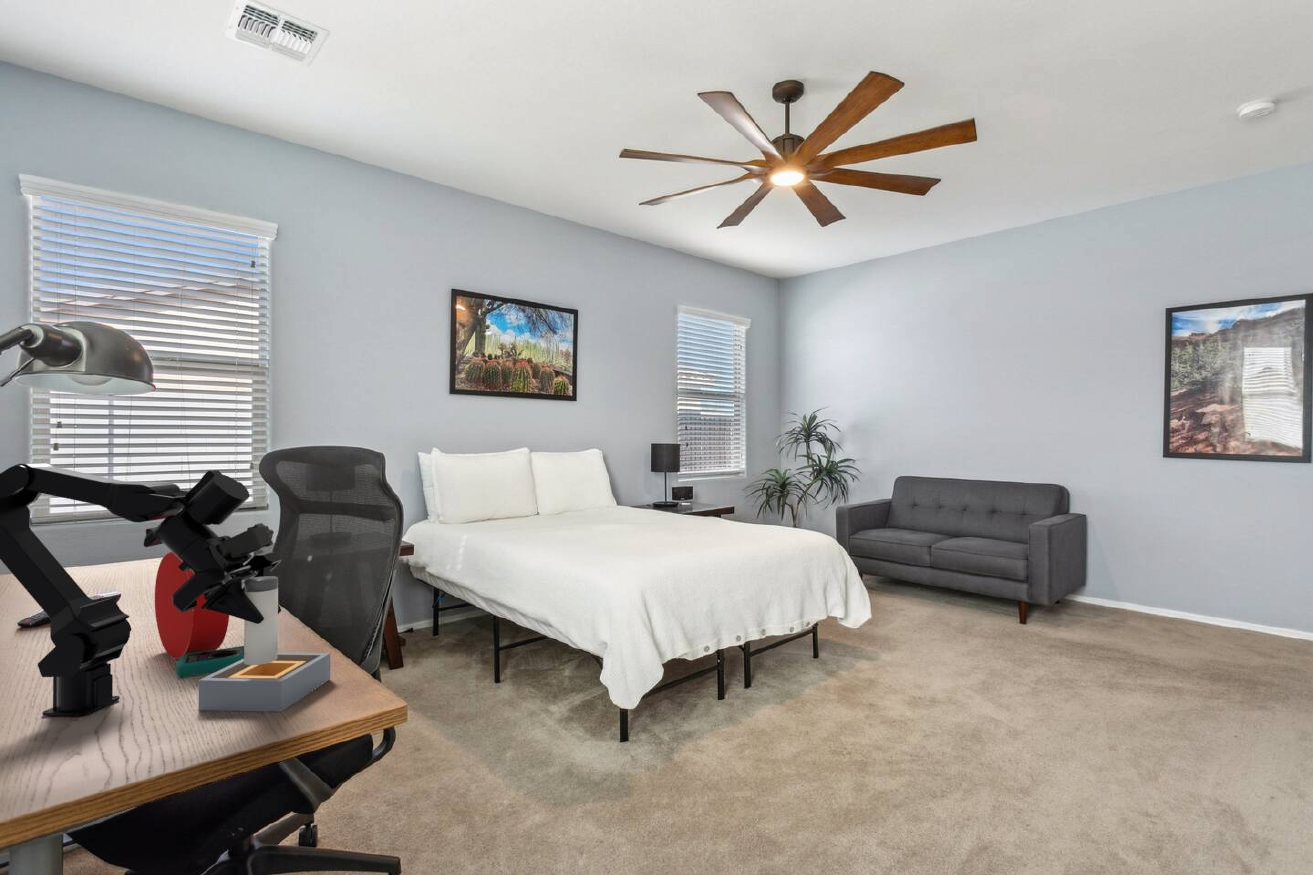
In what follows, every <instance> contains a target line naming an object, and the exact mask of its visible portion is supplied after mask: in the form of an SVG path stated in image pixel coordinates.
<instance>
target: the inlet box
mask: <svg viewBox="0 0 1313 875" xmlns="http://www.w3.org/2000/svg"><path fill="white" fill-rule="evenodd" d="M328 680H329V681H331V653H330V652H328V653H327V652H323V653H322V652H278V658H277V659H276V660H275V661H273V662H270V663H266V664H261V665H246V664H244V659H242V660H240V661H238V662H236V663H233V664H231V665H229V666H227V667H225V668H223V669H221V670H219V671H217V672H212V673H210V674H208V675H207V676H204V677H203V678H201V679H199V680H198V708H197V709H198V711H227V712H228V711H230V712H233V711H234V712H238V711H239V712H280V713H281V712H284V711H285V710H286V709H288V708H289V707H291V706H293V705H294V704H296V703H297V702H298V701H300V700H302V699H303V698H305V697H306V696H307V695H306V694H308V693H309V694H310V692H311V691H312V690H314V689H315V688H317V687H318V686H320V685H321V684H322V683H324V684H325V682H326V681H328ZM329 681H328V682H329ZM326 683H327V682H326ZM321 686H322V685H321ZM321 686H320V687H321ZM318 688H319V687H318ZM318 688H317V689H318ZM315 690H316V689H315ZM315 690H314V691H315ZM312 692H313V691H312ZM312 692H311V693H312ZM309 694H308V695H309ZM305 695H306V696H305ZM304 696H305V697H304ZM302 697H303V698H302ZM301 698H302V699H301ZM292 704H293V705H292Z"/></svg>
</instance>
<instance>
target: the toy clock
mask: <svg viewBox="0 0 1313 875" xmlns="http://www.w3.org/2000/svg"><path fill="white" fill-rule="evenodd" d="M181 563H182V561H181V560H180V559H179V558H178V557H177V556H176V555H175V554H174V553H173V552H172V551H169V552H167V553H165V554H164V555H163V557H162V559H161V560H160V563H159V565H158V568H157V572H156V577H155V585H154V612H155V613H154V614H155V621H156V626H157V632H158V635H159V638H160V641H161V644H162V646H163V648H164V650H165V652H166V654H167V655H168V656H169V657H171V659H175V660H179V659H180V658H182V657H183V656H184V655H185V654H188V653H196V652H203V651H211V650H218V649H219V648H220V647H221V646H222V645H223V643H224V640H225V638H226V636H227V632H228V627H229V621H230V615H227V614H223V613H219V612H215V611H211V610H207V609H205V610H202V609H201V606H202V605H203V604H204V603H205V602H206V600H205V599H204V597H205V596H204V595H203V594H202V595H201V596H200V597H199V598H198V599H196V600H197V606H196V607H195V608H194V609H191V610H189V611H186V612H183V613H181V612H180V611H179V610H178V609H177V608H176V607H175V606H174V605H173V604H172V595H173V594H174V593H175V592H176V591H177V590H178V589H179V588H180V587H181V586H182V585H183V584H184V583H185V582H186V581H187V580H188V579H189V578H190V577H191V576H192V575H193V574H194V573H193V572H192V571H191V570H186V571H182V570H181V569H180V568H178V566H179V565H180V564H181Z"/></svg>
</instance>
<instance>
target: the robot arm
mask: <svg viewBox="0 0 1313 875" xmlns="http://www.w3.org/2000/svg"><path fill="white" fill-rule="evenodd" d="M249 492H250V491H249V490H248V488H247V487H246V485H244V484H243V483H242V482H240V481H238V480H236V479H235V478H232V477H231V476H228V475H226V474H223V473H222V472H221V471H220V470H218V469H214V470H213V469H212V470H211V469H210V470H207V471H206V472H205V473H204V474H203V476H201V479H200V480H199V481H198V482H197V483H196V484H195V485H194V486H193V487H192V488H191V489H189V490H183V489H181V487H180V486H179V485H177V484H176V483H173V482H169V481H143V480H142V481H140V480H139V481H134V480H133V481H131V480H130V481H129V480H118V479H114V478H110V477H106V476H105V477H104V476H100V475H97V474H96V475H95V474H90V473H87V472H86V473H85V472H81V471H76V470H72V469H67V468H63V467H58V466H53V465H52V464H49V463H46V462H37V463H36V462H35V463H33V462H30V463H29V462H27V463H26V462H25V463H17V464H15V465H13V466H10V467H8V468H6V469H5V470H4V471H2V472H0V561H1V562H2V563H3V565H4V566H5V567H6V568H7V569H8V570H9V571H10V573H11V574H12V575H13V577H15V579H16V580H17V581H18V582H19V583H20V584H21V586H22V587H23V588H24V590H26V592H27V593H28V594H29V595H30V596H31V598H33V600H34V601H35V602H36V603H37V604H38V606H39V607H40V608H41V609H42V610H43V612H44V613H45V614H46V615H47V616H48V618H49V619H50V629H49V630H50V631H49V632H50V633H49V634H50V637H49V638H50V640H51V641H52V644H53V646H54V647H53V648H52V649H51V650H50V651H49V652H48V653H47V654H46V655H45V656H44V657H43V658H42V659H40V660H39V662H38V663H37V668H38V671H39V674H40V676H41V677H42V678H52V707H51V708H47V709H46V710H43V711H42V713H41V714H42V716H56V717H57V716H58V717H60V716H61V717H81V716H82V717H83V716H85V715H88V714H90V713H92V712H94V711H97V710H99V709H101V708H103V707H105V706H108V705H110V704H112V703H114V702H117V701H119V700H120V699H121V698H120V696H119V695H113V683H114V682H113V681H114V680H113V678H114V677H113V674H112V673H111V672H112V670H111V669H112V664H111V663H108V662H111V661H113V660H117V659H120V657H121V655H122V652H123V650H124V647H125V646H126V645H127V643H128V642H129V639H130V637H131V632H132V627H131V624H130V622H129V621H128V619H129V618H130V615H128V614H127V613H125V612H123V611H122V609H121V608H120V607H119V605H118V602H117V601H116V600H114V599H113V598H107V599H103V600H100V601H97V600H94V599H92V598H90V597H89V596H88V595H87V594H86V592H84V590H83V588H81V586H79V584H78V583H77V582H76V581H75V580H74V578H72V576H71V575H70V574H69V573H68V571H67V570H66V569H65V568H64V567H63V565H62V564H61V563H60V562H59V561H58V559H56V557H55V556H54V555H53V554H52V552H50V550H48V548H47V547H46V545H45V544H44V543H43V542H42V541H41V539H39V537H38V536H37V535H36V533H34V532H33V530H32V529H31V526H30V525H31V510H30V509H29V507H28V506H30V505H32V504H33V503H34V502H37V501H38V500H39V498H40V497H41V495H42V494H44V495H50V496H53V497H58V498H64V499H69V500H73V501H77V502H82V503H87V504H92V505H97V506H100V507H103V508H105V509H107V510H108V511H109V512H110V513H111V514H112V515H114V516H117V517H119V518H122V519H124V520H127V521H129V522H132V523H139V524H140V523H144V522H146V523H147V522H152V521H157V520H162V522H160V523H159V524H158V525H157V526H156V527H150V528H146V529H145V537H144V539H143V547H145V548H151V547H154V546H159V545H164V546H166V548H168V550H169V551H170V552H173V553H174V554H175V555H176V556H177V557H178V558H179V559H180V560H181V561H182V563H181V564H180V565H179V566H178V568H180V569H181V570H182V571H186V570H191V571H192V572H193V573H194V574H193V575H192V576H191V577H190V578H189V579H188V580H187V581H186V582H185V583H184V584H183V585H182V586H181V587H180V588H179V589H178V590H177V591H176V592H175V593H174V594H173V595H172V604H173V605H174V606H175V607H176V608H177V609H178V610H179V611H180V612H181V613H183V612H186V611H189V610H191V609H194V608H195V607H196V606H197V600H196V599H198V598H199V597H200V596H201V595H202V594H203V595H204V596H205V597H204V599H205V600H206V602H205V603H204V604H203V605H202V606H201V609H202V610H205V609H207V610H211V611H215V612H219V613H223V614H227V615H229V617H230V616H231V617H233V618H237V619H241V620H246V621H250V622H253V623H256V624H259V623H261V622H262V621H263V620H264V617H263V616H262V614H261V613H260V611H259V610H258V609H257V608H256V606H255V605H254V604H253V603H252V602H251V600H250V599H249V598H248V597H247V596H246V594H245V580H247V579H250V578H255V577H264V576H270V574H271V572H272V571H274V569H275V568H276V567H277V566H279V564H280V563H282V558H281V557H280V556H279V555H278V554H277V552H275V551H265V552H262V553H261V552H260V553H257V554H255V555H252V554H251V553H253V552H256V551H258V550H260V549H263V548H265V547H266V548H267V547H270V546H272V545H273V544H274V542H273V537H274V536H273V535H274V533H275V532H274V530H272V529H270V528H269V526H268V525H265V524H263V523H262V522H260V523H255V524H254V525H253V526H249V527H247V529H246V530H245V531H243V532H241V533H239V534H236V535H234V536H232V537H231V536H229V535H223V536H221V535H220V536H219V535H218V534H217V533H216V532H215V531H213V529H212V528H211V527H210V526H211V525H215V526H217V525H218V526H220V525H222V524H223V523H225V522H226V521H227V520H228V519H229V518H230V517H231V516H232V515H233V513H235V511H237V510H238V509H239V508H240V507H241V506H242V505H243V504H244V503H245V502H246V501H247V500H248V499H249V498H250V493H249ZM281 612H282V608H281V606H280V604H279V603H278V615H279V614H280V613H281Z"/></svg>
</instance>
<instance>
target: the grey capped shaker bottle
mask: <svg viewBox="0 0 1313 875" xmlns="http://www.w3.org/2000/svg"><path fill="white" fill-rule="evenodd" d="M245 594H246V596H247V597H248V598H249V599H250V600H251V602H252V603H253V604H254V605H255V606H256V608H257V609H258V610H259V611H260V613H261V614H262V616H263V617H264V620H263V621H262V622H261V623H259V624H256V623H253V622H250V621H246V620H244V622H243V623H244V624H243V625H244V628H243V631H244V632H243V634H244V635H243V636H244V637H243V641H244V642H243V646H244V664H246V665H261V664H266V663H270V662H273V661H275V660H276V659H277V658H278V653H279V652H278V648H279V646H278V640H279V638H278V637H279V634H278V633H279V631H278V630H279V628H278V627H279V614H278V604H279V577H278V576H273V575H271V576H270V575H269V576H264V577H255V578H250V579H247V580H245Z"/></svg>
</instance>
